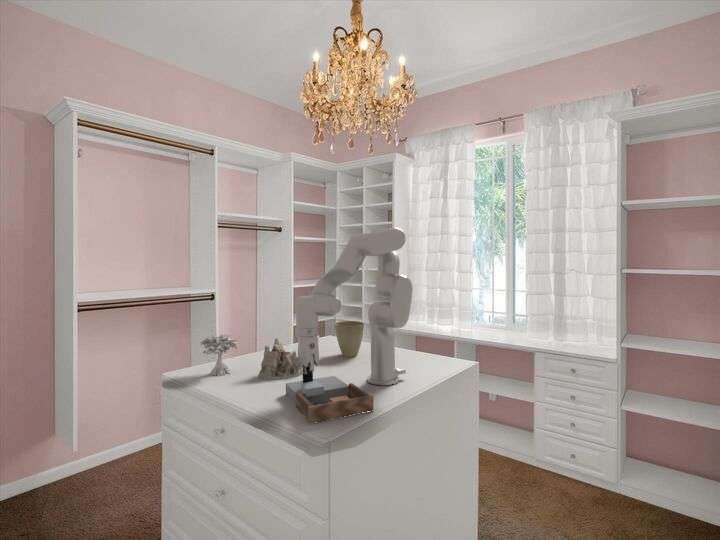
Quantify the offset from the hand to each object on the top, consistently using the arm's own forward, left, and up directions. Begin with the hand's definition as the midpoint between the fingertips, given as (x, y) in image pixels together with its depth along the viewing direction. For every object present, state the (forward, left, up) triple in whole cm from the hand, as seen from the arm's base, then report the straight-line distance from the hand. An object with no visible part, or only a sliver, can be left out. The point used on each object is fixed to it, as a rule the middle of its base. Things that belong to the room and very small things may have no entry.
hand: (307, 384), depth 141 cm
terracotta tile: (-8, +11, -3) cm, 14 cm away
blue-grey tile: (0, +5, -1) cm, 5 cm away
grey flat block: (-4, -2, -5) cm, 7 cm away
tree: (+23, -48, -5) cm, 53 cm away
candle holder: (-17, -48, -5) cm, 51 cm away
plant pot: (-39, -50, -5) cm, 64 cm away
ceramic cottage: (0, -33, -6) cm, 34 cm away
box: (-4, +13, -5) cm, 14 cm away
